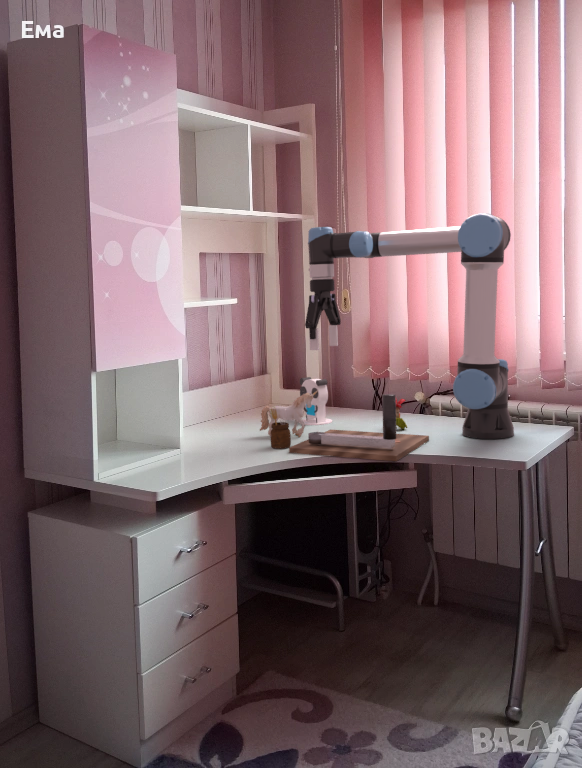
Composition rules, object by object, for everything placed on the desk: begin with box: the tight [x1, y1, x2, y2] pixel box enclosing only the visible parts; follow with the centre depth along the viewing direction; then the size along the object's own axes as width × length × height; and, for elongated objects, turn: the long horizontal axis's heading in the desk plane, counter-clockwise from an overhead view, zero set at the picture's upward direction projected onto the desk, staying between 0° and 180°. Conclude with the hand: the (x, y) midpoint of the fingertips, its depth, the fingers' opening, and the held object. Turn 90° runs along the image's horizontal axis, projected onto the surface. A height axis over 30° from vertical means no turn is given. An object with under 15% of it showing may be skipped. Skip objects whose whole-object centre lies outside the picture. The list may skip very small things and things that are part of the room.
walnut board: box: [288, 429, 430, 462], centre depth 231 cm, size 32×28×2 cm
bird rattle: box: [396, 397, 408, 430], centre depth 256 cm, size 6×11×9 cm
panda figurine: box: [299, 376, 333, 426], centre depth 272 cm, size 12×11×15 cm
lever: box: [308, 393, 397, 449], centre depth 222 cm, size 26×5×14 cm, turn 62°
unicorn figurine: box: [259, 390, 318, 438], centre depth 249 cm, size 7×20×13 cm, turn 101°
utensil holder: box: [269, 408, 292, 450], centre depth 233 cm, size 6×6×12 cm
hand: (324, 348), depth 246 cm, fingers open, 13 cm apart
